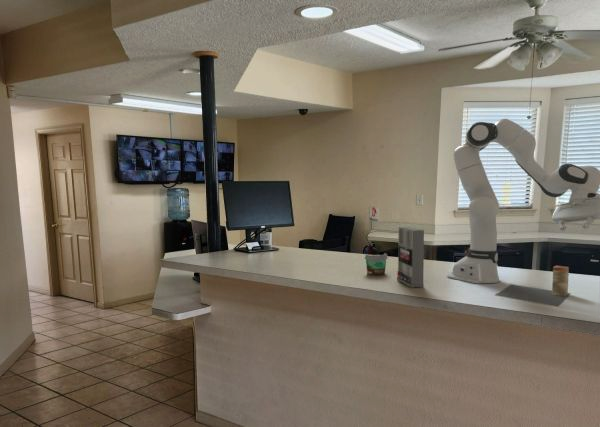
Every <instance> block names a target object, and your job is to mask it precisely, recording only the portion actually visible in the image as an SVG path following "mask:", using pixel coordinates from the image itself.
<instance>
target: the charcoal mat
mask: <svg viewBox="0 0 600 427" xmlns="http://www.w3.org/2000/svg"><path fill="white" fill-rule="evenodd" d="M570 295H571V293H570V292H568V294H567V295H566V296H559V295H553V294H552V289H551V290H550V289H544V288H536V287H530V286H524V285H518V284H510V285H508V286H506V287H505V288H503V289H502V290H500V291H499V292H497V293H495V294H494V296H495V297H503V298H507V299H514V300H520V301H526V302H532V303H535V304H536V303H537V304H541V305H542V304H543V305H548V306H554V307H560V306H561V305H562V303H564V301H565V300H566V299H567V298H568V297H569V296H570Z"/></svg>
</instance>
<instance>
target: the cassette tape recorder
mask: <svg viewBox="0 0 600 427" xmlns="http://www.w3.org/2000/svg"><path fill="white" fill-rule="evenodd" d="M397 236H398V243H397V244H398V247H397V248H398V251H397V252H398V253H397V260H398V262H397V263H398V264H397V265H398V267H397V277H396V280H397V281H398V282H400V283H402V284H404V285H406V286H408V287H409V288H412V289H413V288H423V287H424V286H425V284H424V268H425V266H424V265H425V264H424V262H425V261H424V258H425V257H424V255H425V254H424V253H425V252H424V251H425V250H424V249H425V248H424V247H425V246H424V245H425V229H420V228H416V227H413V226H398V235H397Z"/></svg>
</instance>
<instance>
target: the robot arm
mask: <svg viewBox="0 0 600 427" xmlns="http://www.w3.org/2000/svg"><path fill="white" fill-rule="evenodd" d="M490 143H497V144H499V145H500V146H502V147H503V148H504V149H506V150H507V151H508V152H509V153H510V154H511V155H512V157H513V158H514V160H515V162H516V163H517V165H518V166H519V167H520V168H521V169H522V170H523V171H524V172H525V173H526V174H527V175H528V176H529V177H530V178H531V179H532V180H533V181H534V182H535V183H536V184H537V185H538V186H539V188H540V190H541V191H542V192H543V193H544V194H545V195H546V196H548V197H550V198H559V197H560V198H561V197H562V196H563V195H565V193H567V191H569V190H570V191H571V193H570V197H569V200H568V202H566V203H561V204H559V205H557V206H556V208H555V209H554V211H553V214H552V216H551V220H552V221H553V222H554V223H555V224H557V225H559V230H560V231H561V232H562V231H566V229H567V227H566V226H565V224H567V223H577V222H583V223H582V225H581V226H582V228H583V229H585V230H586V229H589V228H590V225H591V224H592V223H594V222H595V220H600V193H599V192H598V191H599V189H600V170H599V169H598V168H597V167H595V166H592V165H584V166H577V165H575V164H572V163H564V164H562V165H560V166H559V167H557V168H556V169H555V170H554V171H553V172H551V173H548V172H547V171H546V170H545V169H544V167H542V166H541V165H540V164H539V163H538V162H537V161H536V159H535V150H536V145H537V141H536V138H535V136H534V135H533V134H532V133H531V132H530V131H529V130H527V129H525V128H524V127H522V126H521V125H519V124H518V123H516V122H515V121H513V120H510V119H509V118H501V119H499V120H497V121H496V122H494V123H492V122H484V121H478V122H474V123H473V124H471V125H470V126H469V127H468V129H467V131H466V133H465V142H464V143H463V144H461V145H458V147H456V148H455V149H454V151H453V160H454V161H453V162H454V165H455V169H456V171H457V175H458V177H459V180H460V182H461V185H462V188H463V190H464V191H465V194H466V195H467V197H468V199H469V201H470V203H469V206H468V218H469V228H470V246H469V248H467V249H466V250H465V251H464V254H465V256H464V257H462V258H461V259H459V260H457V261H456V262H455V263H454V265H453V267H452V271H450V272H449V273H447V275H446V276H447V278H450V279H453V280H458V281H462V282H468V283H473V284H494V283H499V282H500V281H501V280H500V276H499V273H498V272H499V271H498V260H499V259H498V258H499V253H498V249H497V246H498V245H497V242H498V241H497V239H498V230H497V216H496V215H497V214H498V212H499V211H500V203H499V201H498V198H497V195H496V194H495V193H496V192H495V191H494V190H493V186H492V185H491V183H490V181H489V178H488V176H487V172H486V170H485V168H484V165H483V162H482V160H481V157H480V151H482V150H484V149H486V147H488V145H489V144H490Z"/></svg>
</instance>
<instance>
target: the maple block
mask: <svg viewBox="0 0 600 427" xmlns="http://www.w3.org/2000/svg"><path fill="white" fill-rule="evenodd" d="M569 271H570V267H569V266H563V265H555V266H553V267H552V284H551V285H552V288H551V291H552V294H553V295H559V296H566V295H567V294H568V293H569V273H570V272H569Z"/></svg>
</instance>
